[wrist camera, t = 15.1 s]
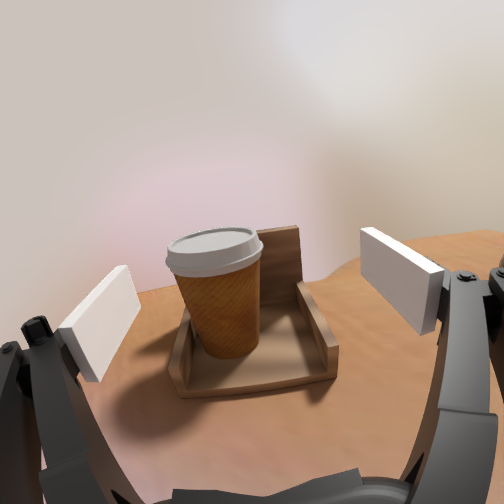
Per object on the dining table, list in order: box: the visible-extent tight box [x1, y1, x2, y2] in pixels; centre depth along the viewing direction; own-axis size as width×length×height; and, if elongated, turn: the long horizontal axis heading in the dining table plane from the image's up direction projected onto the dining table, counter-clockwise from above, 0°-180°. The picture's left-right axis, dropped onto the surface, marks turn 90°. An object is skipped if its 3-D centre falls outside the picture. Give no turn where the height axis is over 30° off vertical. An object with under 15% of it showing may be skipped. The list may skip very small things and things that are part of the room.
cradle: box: [168, 225, 339, 398], centre depth 30 cm, size 16×15×11 cm
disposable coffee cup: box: [165, 227, 263, 359], centre depth 28 cm, size 10×10×12 cm
